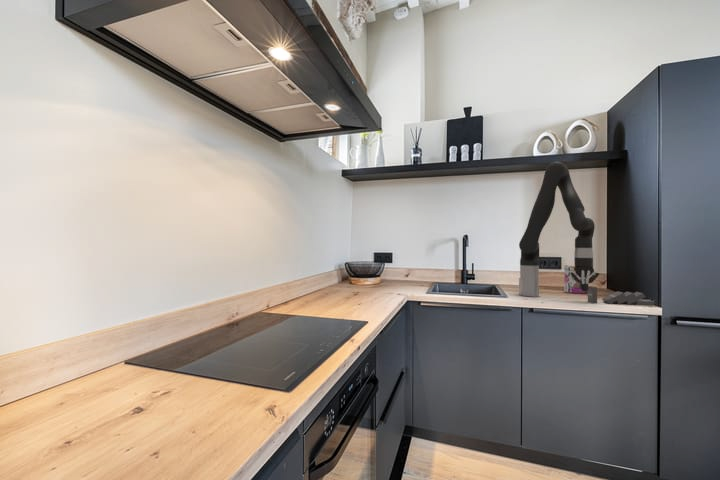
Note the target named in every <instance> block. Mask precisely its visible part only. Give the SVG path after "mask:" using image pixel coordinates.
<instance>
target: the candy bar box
mask: <svg viewBox="0 0 720 480" xmlns="http://www.w3.org/2000/svg"><path fill="white" fill-rule="evenodd" d="M574 268H575V264H574V265H566V264H565V265H564V267H563V269H564V272H563V274H564V275H563V277H564V280H563V281H564V282H563V283H564V286H563V292H564V293H567V294H585V295H586V294H587V295H588V290H587V291H582V290H581V289H580V283H579V282H576V281H575V280H574V279H573V278H572V277H571V276H570V274H569V272H572V271H574ZM576 276H577V278H578V279H579V277H578V275H577V274H576Z"/></svg>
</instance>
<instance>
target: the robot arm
mask: <svg viewBox="0 0 720 480" xmlns="http://www.w3.org/2000/svg"><path fill="white" fill-rule="evenodd" d="M544 171H545V172H544V175H543V179H542V183H541V186H540V189H539V191H538V193H537V196H536V199H535V202H534V204H533V207H532V209H531V213H530V214H529V215H530V216H529V220H528V223H527V226H526V228H525V231H524V233H523V236H522V237H521V239H520V241H519V244H518V247H519V250H520V259H519V278H518V295H520V296H522V297H530V298H531V297H534V298H535V297H537V298H538V297H539V295H540V271H539V270H540V269H539V266H540V264H539V263H540V243H539V241H540V236H541V233H542V231H543V229H544V227H545V226H546V225H547V223H548V222H549V219H550V217H551V216H552V213H553V209H554V207H555V202H556V190H557V189H559V192H560V194H561V199H562V202H563V204H564V207H565V209H566V210H567V211H566V212H568V216H569V221H570V225H571V227H572V228H573V230H575V231H577V232H578V233H577V234H578V235H577V236H576V237H575V239H574V254H573V255H574V256H573V257H574V265H575V268H574V271H572V272H569V274H570V276H571V277H572V278H573V279H574V280H575V281H576V282H579V283H580V289H581V290H582V291H587V290H588V286H589V284H592V283H594V281H595V280H596V279H597V278H598V277H599V276H600V273H599V272H596V271H595V269H594V251H593V250H594V249H593V237H594V233H595V227H596V226H595V222H594V221H593V219H591V218H589V217H586V215H585V207H584V204H583V202H582V200H581V198H580V196H579V194H578V192H577V191H576V189H575V187H574V185H573V182H572V178H571V174H570V169H569V168H568V166H566V165H565V164H564V163H563V162H561V161H553V162H551V163H549V164H548V165H547V167H546V169H545V170H544ZM557 187H558V188H557ZM576 274H577V275H578V277H579V279H578V278H577V276H576Z"/></svg>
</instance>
